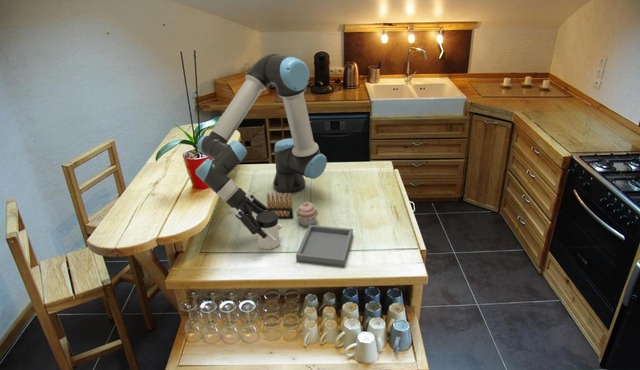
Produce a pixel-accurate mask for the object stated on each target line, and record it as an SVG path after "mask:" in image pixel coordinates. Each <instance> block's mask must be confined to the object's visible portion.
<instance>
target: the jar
mask: <svg viewBox="0 0 640 370" xmlns="http://www.w3.org/2000/svg"><path fill="white" fill-rule="evenodd" d="M255 219H256V221H257V222H258V224H259V226H260V227H261V229H262V228H264V229H265V230H266V231H267V232H268V233H269V234H270V235H271V236H273V237H274V238H275V239H276V240H275V241H274V242H273V243H271V244H270V243H268V242H267V241H266V240H265V239H264V238H262V237H261V236H260V235H259V234H258V233H257V240H258V241H257V244H258V248H260V249H263V250H264V249H265V250H273V249H275V248H277V247H279V246H280V230H279V229H278V223H279V219H278V215H277V214H276V213H275V212H271V211H267V210H266V211H265V212H261V213H259V214H256V216H255Z"/></svg>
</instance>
